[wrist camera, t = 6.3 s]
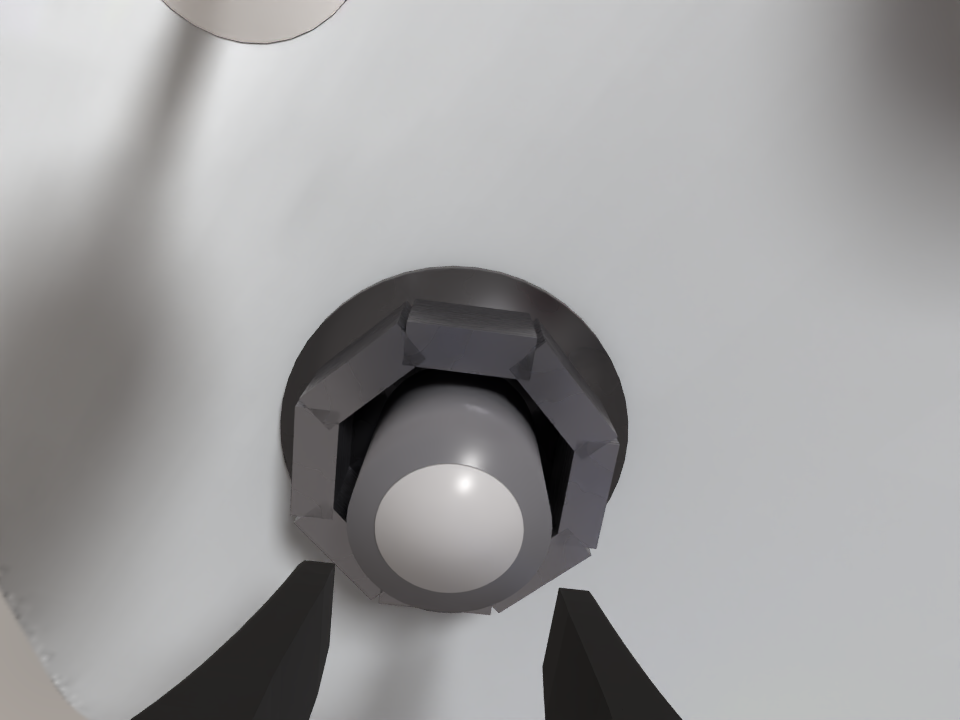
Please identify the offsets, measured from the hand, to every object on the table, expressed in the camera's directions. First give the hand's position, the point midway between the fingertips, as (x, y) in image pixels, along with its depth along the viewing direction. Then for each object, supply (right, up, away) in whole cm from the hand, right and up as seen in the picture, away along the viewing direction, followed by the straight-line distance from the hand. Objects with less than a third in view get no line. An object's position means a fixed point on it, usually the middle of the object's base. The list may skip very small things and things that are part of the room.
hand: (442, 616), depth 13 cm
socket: (0, +3, +8) cm, 8 cm away
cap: (0, +3, +7) cm, 8 cm away
